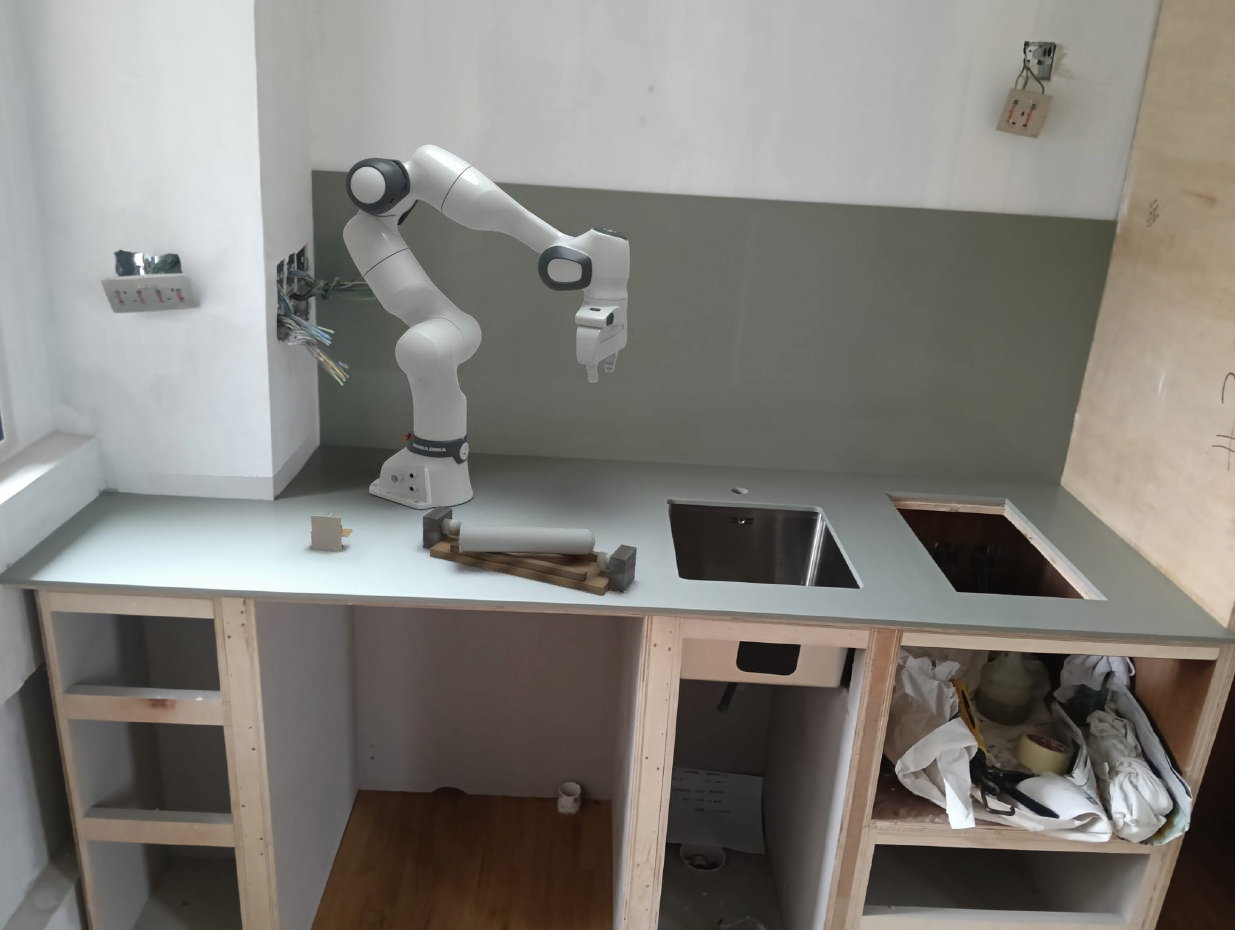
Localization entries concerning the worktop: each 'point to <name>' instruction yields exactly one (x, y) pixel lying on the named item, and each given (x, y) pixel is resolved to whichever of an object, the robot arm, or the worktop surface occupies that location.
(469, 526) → the tube
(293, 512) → the worktop surface
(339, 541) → the architectural model
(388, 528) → the worktop surface
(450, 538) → the shaft bed
